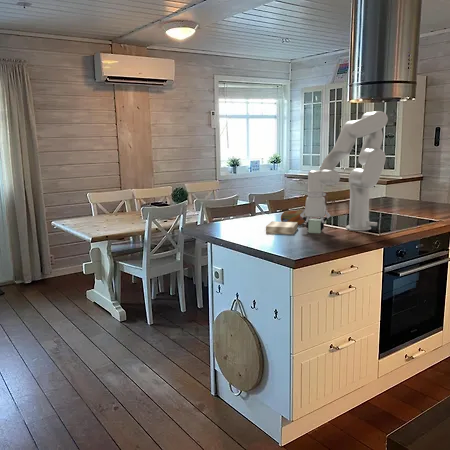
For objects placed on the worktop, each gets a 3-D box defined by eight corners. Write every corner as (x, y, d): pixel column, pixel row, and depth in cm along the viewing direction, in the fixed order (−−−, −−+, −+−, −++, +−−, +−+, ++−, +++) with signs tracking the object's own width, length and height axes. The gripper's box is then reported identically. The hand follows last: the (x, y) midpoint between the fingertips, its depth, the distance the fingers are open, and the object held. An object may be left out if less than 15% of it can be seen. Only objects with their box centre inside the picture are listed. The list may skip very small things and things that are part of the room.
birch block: (297, 229, 249) (297, 222, 248) (293, 235, 236) (293, 227, 235) (271, 228, 253) (271, 221, 253) (265, 234, 240) (265, 226, 240)
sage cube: (321, 230, 242) (321, 219, 241) (320, 233, 237) (320, 221, 236) (309, 230, 244) (310, 219, 243) (308, 232, 239) (308, 221, 237)
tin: (282, 226, 257) (282, 211, 256) (280, 225, 260) (279, 210, 259) (307, 224, 261) (307, 209, 259) (304, 223, 264) (304, 208, 262)
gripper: (333, 194, 238) (332, 229, 241) (299, 193, 243) (299, 227, 246) (332, 196, 231) (331, 231, 234) (297, 195, 236) (297, 230, 239)
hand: (315, 229), depth 240 cm, fingers closed on sage cube, 6 cm apart
